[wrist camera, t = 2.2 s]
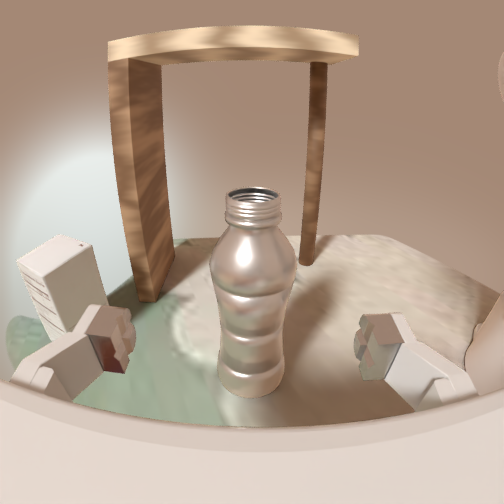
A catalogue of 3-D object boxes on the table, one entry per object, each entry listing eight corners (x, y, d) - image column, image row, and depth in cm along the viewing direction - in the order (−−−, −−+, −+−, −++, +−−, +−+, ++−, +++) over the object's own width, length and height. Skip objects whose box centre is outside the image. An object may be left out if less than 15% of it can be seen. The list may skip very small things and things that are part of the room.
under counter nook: (315, 257, 53) (330, 49, 36) (331, 304, 42) (358, 35, 25) (161, 256, 53) (145, 52, 36) (139, 301, 42) (108, 41, 25)
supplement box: (85, 311, 39) (60, 232, 33) (119, 330, 37) (93, 243, 30) (49, 340, 33) (14, 258, 27) (81, 364, 31) (41, 276, 25)
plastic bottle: (222, 357, 34) (212, 180, 24) (283, 360, 33) (299, 182, 23) (214, 403, 28) (192, 210, 18) (283, 407, 28) (307, 214, 18)
